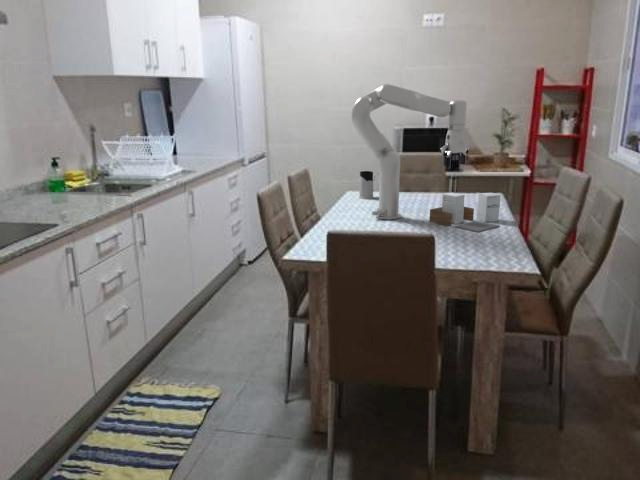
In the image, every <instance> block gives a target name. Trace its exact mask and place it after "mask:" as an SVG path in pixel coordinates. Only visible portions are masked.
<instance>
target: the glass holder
mask: <svg viewBox="0 0 640 480" xmlns="http://www.w3.org/2000/svg"><path fill="white" fill-rule="evenodd" d="M377 175H379V176H380V172H379V173H378V172H376V173H375V174H374V172H373V171H369V170H362V171H359V195H358V198H359V199H362V200H372V199H374V191H375V190H376V189H377V188H378V187H379V182H378V183H377V185H376V186H375V188H374V181H375V180H376V176H377Z"/></svg>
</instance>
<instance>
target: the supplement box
mask: <svg viewBox="0 0 640 480" xmlns="http://www.w3.org/2000/svg"><path fill="white" fill-rule="evenodd" d="M477 197H478V199H477V210H476V211H477V212H476V220H477V221H480V222H485V223H489V222H499V219H500V218H499V217H500V207H501V205H500V204H501V194H498V193H494V192H482V193H478V196H477Z"/></svg>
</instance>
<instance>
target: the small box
mask: <svg viewBox="0 0 640 480" xmlns="http://www.w3.org/2000/svg"><path fill="white" fill-rule="evenodd" d="M441 201H442V202H441V207H442V211H443V212H448V213H452V224H454V225H456V224H460V223H463V222H464V220H463V215H464V207H465V194H460V193H456V192H447V193H443V194H442V200H441Z"/></svg>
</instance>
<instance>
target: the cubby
mask: <svg viewBox="0 0 640 480" xmlns="http://www.w3.org/2000/svg"><path fill="white" fill-rule="evenodd" d="M474 211H475V208H473V207H469V206H468V207H467V206H464V215H463V221H464V220H465V221H469V222H474ZM429 222H430V223H432V224H437V225H442V226H447V227H452V224H453V223H452V213H448V212H443V211H442V206H439V207H434V208H431V209H429Z"/></svg>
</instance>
